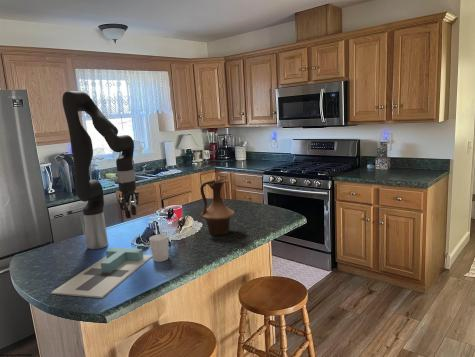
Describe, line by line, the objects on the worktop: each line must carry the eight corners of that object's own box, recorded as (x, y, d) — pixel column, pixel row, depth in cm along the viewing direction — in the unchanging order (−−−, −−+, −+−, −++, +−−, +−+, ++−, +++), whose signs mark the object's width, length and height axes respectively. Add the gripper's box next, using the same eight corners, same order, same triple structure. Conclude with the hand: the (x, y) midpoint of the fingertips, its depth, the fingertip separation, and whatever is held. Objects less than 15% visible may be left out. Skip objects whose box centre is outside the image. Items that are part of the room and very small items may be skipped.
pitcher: (208, 240, 181) (203, 184, 176) (197, 230, 196) (192, 179, 191) (240, 233, 188) (237, 179, 182) (228, 224, 203) (224, 174, 198)
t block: (89, 271, 153) (87, 262, 152) (112, 256, 168) (110, 247, 167) (123, 273, 148) (121, 264, 148) (143, 257, 163) (142, 249, 163)
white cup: (154, 264, 157) (151, 241, 155) (149, 258, 164) (147, 236, 162) (172, 259, 160) (169, 237, 159) (166, 253, 167) (164, 232, 166)
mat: (51, 293, 137) (51, 292, 136) (110, 254, 171) (110, 253, 171) (102, 298, 131) (102, 296, 130) (152, 256, 165) (152, 255, 165)
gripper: (127, 177, 174) (132, 212, 177) (110, 183, 160) (115, 221, 163) (142, 176, 171) (146, 212, 175) (125, 183, 158) (130, 221, 161)
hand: (131, 216), depth 169 cm, fingers open, 4 cm apart
